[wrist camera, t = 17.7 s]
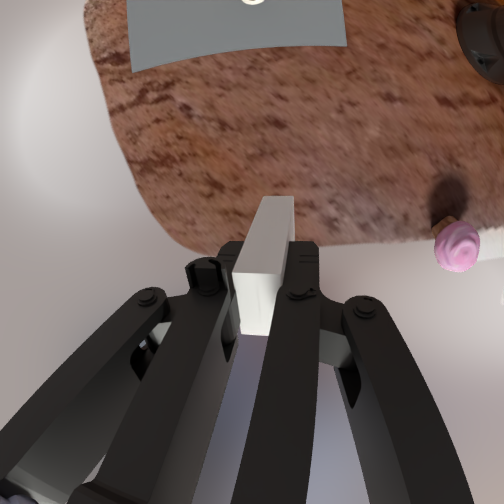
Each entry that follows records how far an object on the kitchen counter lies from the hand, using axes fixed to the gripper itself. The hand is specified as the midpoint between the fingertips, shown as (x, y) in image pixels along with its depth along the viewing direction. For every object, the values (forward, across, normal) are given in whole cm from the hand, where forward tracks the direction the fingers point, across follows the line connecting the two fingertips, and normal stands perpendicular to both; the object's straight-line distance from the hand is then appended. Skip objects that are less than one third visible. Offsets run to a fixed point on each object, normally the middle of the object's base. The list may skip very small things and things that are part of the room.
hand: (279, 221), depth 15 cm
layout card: (+32, -10, +25) cm, 42 cm away
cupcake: (+33, +27, -16) cm, 45 cm away
